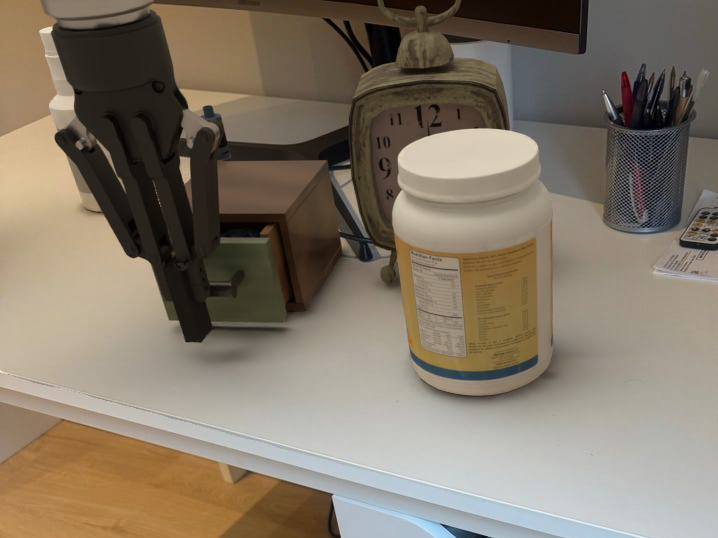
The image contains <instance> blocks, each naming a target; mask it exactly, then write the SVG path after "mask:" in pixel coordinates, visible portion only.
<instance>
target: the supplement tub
mask: <svg viewBox="0 0 718 538" xmlns="http://www.w3.org/2000/svg"><path fill="white" fill-rule="evenodd" d="M398 169H399V174H398V184H399V186H400V188H401V189H402V190H401V192H400V193H399V195H398V196H397V198H396V200H395V203H394V206H393V211H392V225H393V229H394V236H395V244H396V251H397V267H398V274H399V281H400V289H401V297H402V305H403V311H404V312H403V313H404V319H405V326H406V327H405V328H406V333H407V334H406V335H407V342H408V350H409V359H410V361H411V364H412V368H413V369H414V370H415V372H416V374H417V375H418V376H419V378H420V379H422V380H423V381H424V382H425V383H427V384H428V385H430V386H432V387H433V388H436V389H438V390H440V391H444V392H447V393H450V394H455V395H463V396H474V397H475V396H476V397H477V396H478V397H481V396H493V395H500V394H504V393H507V392H512V391H514V390H518V389H519V388H522V387H524V386H526V385H528V384H530V383H531V382H533V381H536V379H538V378H539V377H540V376H541V375H542V374H543V373H544V372H545V371H546V370H547V369H548V367H549V365H550V363H551V361H552V356H553V351H554V297H553V296H554V294H553V293H554V292H553V291H554V290H553V289H554V288H553V287H554V286H553V278H554V277H553V215H554V210H553V203H552V202H553V201H552V199H551V198H552V197H551V195H550V193H549V191H548V188H547V187H546V186H545V184H544V182H542V181H541V180H540V179H539V178H540V176H541V173H542V165H541V163H540V152H539V145H538V143H536V141H535V140H534V139H533V138H532V137H530V136H528V135H526V134H523V133H521V132H516V131H513V130H510V131H508V130H500V129H463V130H455V131H449V132H443V133H439V134H434V135H431V136H428V137H424V138H422V139H419V140H417V141H415V142H413V143H411V144H409V145H408V146H406V147H405V148H404V149H403V150H402V151H401V152H400V153H399V155H398Z"/></svg>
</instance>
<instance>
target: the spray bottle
mask: <svg viewBox="0 0 718 538" xmlns="http://www.w3.org/2000/svg"><path fill="white" fill-rule="evenodd" d="M52 27H53V26H52V25H51V26H48V27H43V28H41V29H40V30H39V31H38V33H39V36H40V39H41V42H42V45H43V48H44V50H43V51H44V52H45V54H44V57H45V60H46V62H47V63H46V64H47V65H48V69H49V71H50V74H51V75H50V76H51V80H52V83H53V85H54V88H55V91H56V94H55V95H54V97H53V98H52V99H51V100H50V102H49V104H48V109H49V112H50V114H51V117H52V119H53V120H52V121H53V123H54V126H55V129H56V132H58V131H60V130H61V129H63V128H64V127H66V126H67V125H69V123H70V122H71V121H72V120H73V119H74V118H75V117H76V114H75V111H74V98H75V97H74V90H73V88H72V86H71V85H70V84H69V83H68V81H67V80H66V77H65V74H64V71H63V68H62V65H61V62H60V59H59V56H58V53H57V50H56V47H55V44H54V41H53V38H52V35H51V31H52V30H53V29H52ZM96 140H97V139H96ZM97 143H98V145H99V146H100V147H101V149H102V150H103V152H104V154H105V155H106V157H107V159H108V161H109V163H110V165H111V166H112V168H113V170H114V172H115V174H116V171H115V168H114V165H113V162H112V159H111V156H110V153H109V152H108V151H107V150H106V149H105V147H104V146H103V145H102V144H101V143H100V142H99V141H98V140H97ZM65 157H66V159H67V162H68V165H69V168H70V170H71V173H72V176H73V179H74V182H75V185H76V187H77V190H78V194H79V195H80V198H81V201H82V204H83V206H84V207H85V209H87V210H89V211H94V212H101V213H103V212H102V211H101V209H100V207H99V205H98V203H97V202H96V200H95V198H94V196H93V194H92V193H91V191H90V189H89V187H88V186H87V184H86V182H85V180H84V178H83V177H82V175H81V173H80V171H79V169H78V168H77V166H76V164H75V163H74V162H73V161H72V160H71V159H70V158H69V157H68V156H67V155H66V154H65ZM116 176H117V174H116ZM117 178H118V179H119V181H120V183H121V185H122V187H123V189H124V191H125V188H124V185H123V182H122V180H121V179H120V178H119V177H118V176H117ZM125 193H126V191H125Z"/></svg>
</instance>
